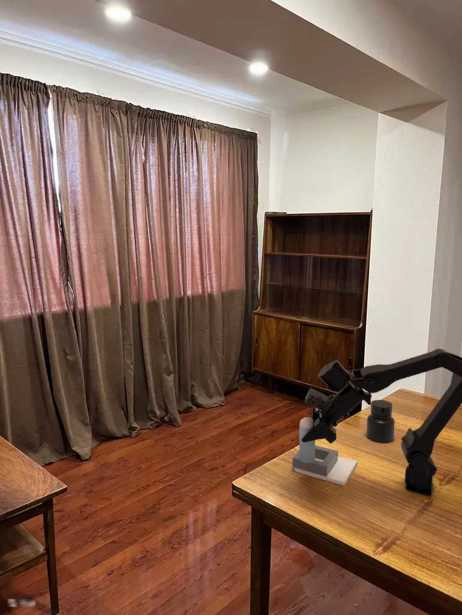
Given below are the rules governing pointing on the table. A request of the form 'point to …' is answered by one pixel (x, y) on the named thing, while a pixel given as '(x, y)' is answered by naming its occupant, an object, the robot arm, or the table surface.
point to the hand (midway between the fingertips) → (302, 437)
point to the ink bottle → (380, 421)
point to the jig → (326, 466)
